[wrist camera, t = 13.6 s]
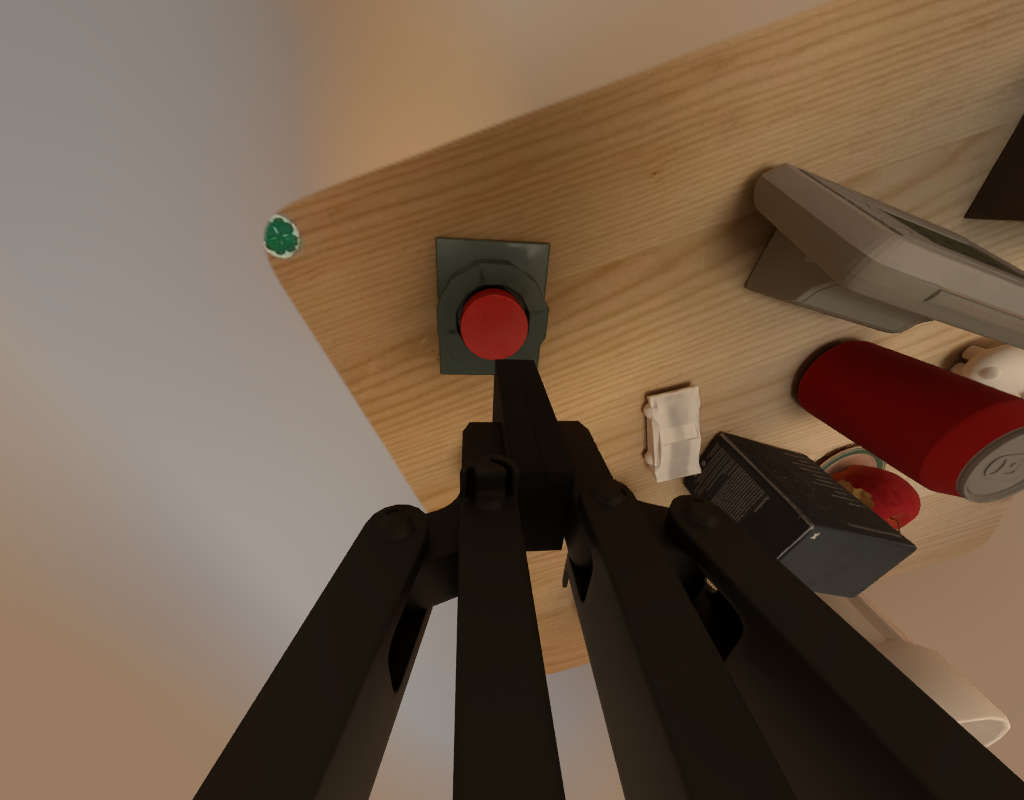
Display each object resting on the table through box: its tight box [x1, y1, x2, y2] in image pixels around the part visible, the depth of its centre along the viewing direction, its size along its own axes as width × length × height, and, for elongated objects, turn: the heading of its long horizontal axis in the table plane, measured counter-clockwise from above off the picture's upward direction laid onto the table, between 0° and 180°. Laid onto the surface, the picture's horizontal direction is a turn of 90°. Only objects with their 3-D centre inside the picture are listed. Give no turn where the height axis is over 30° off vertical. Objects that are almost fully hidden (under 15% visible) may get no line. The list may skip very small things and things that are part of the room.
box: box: [683, 433, 917, 598], centre depth 31 cm, size 11×7×10 cm, turn 70°
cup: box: [814, 592, 1011, 748], centre depth 34 cm, size 11×11×17 cm
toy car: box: [644, 386, 701, 483], centre depth 31 cm, size 5×8×2 cm, turn 12°
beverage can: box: [798, 341, 1024, 503], centre depth 26 cm, size 7×7×12 cm
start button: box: [461, 288, 528, 360], centre depth 23 cm, size 4×4×2 cm
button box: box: [436, 237, 550, 375], centre depth 24 cm, size 9×7×2 cm
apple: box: [819, 446, 921, 534], centre depth 34 cm, size 8×8×6 cm
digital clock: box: [746, 163, 1024, 350], centre depth 21 cm, size 16×9×11 cm, turn 63°
